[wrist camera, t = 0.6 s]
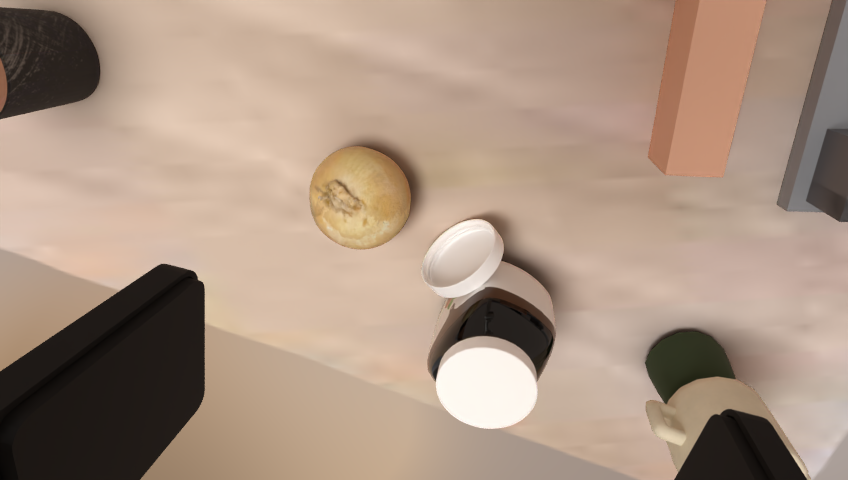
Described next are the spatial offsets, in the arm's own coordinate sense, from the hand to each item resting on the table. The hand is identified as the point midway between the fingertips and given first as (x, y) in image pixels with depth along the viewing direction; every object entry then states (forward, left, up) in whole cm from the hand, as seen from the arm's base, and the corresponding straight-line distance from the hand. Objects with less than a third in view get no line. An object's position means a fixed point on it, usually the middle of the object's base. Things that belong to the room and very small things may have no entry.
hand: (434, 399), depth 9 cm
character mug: (+26, +4, -32) cm, 41 cm away
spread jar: (+12, -8, -32) cm, 35 cm away
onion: (0, -12, -32) cm, 34 cm away
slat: (+1, +15, -32) cm, 35 cm away
